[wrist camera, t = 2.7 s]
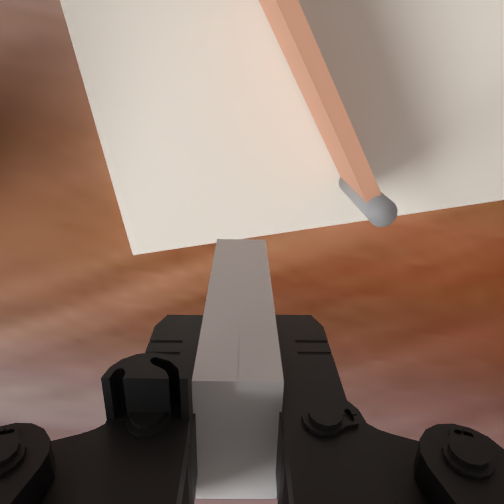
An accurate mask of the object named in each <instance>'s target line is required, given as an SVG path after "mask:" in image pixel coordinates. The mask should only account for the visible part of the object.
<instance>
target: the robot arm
mask: <svg viewBox="0 0 504 504" xmlns="http://www.w3.org/2000/svg"><path fill="white" fill-rule="evenodd" d="M101 381H102V388H103V395H104V402H105V409H106V417H107V421H106V423H105V424H104V425H102V426H100V427H98V428H96V429H94V430H91V431H88V432H85V433H82V434H78V435H74V436H70V437H66V438H62V439H58V440H54V441H50V438H49V436H48V435H47V433H46V431H45V430H44V429H43V428H41V427H39V426H37V425H34V424H32V423H13V424H9V425H5V426H0V504H194V500H195V492H196V499H276V493H277V499H278V504H504V449H503V448H501V447H500V446H499V445H498V444H496V443H495V442H494V441H493V440H491V439H490V438H489V437H487V436H485V435H483V434H481V433H479V432H477V431H475V430H473V429H471V428H468V427H464V426H460V425H456V424H437V425H435V426H432V427H430V428H428V429H426V430H425V432H424V433H423V435H422V436H421V438H420V440H419V441H416V440H412V439H408V438H404V437H401V436H397V435H393V434H390V433H387V432H384V431H381V430H378V429H376V428H374V427H373V426H371V425H369V424H367V423H366V421H365V420H364V418H363V416H362V415H361V413H360V411H359V410H358V409H357V408H356V407H355V406H353V405H352V404H351V403H350V402H348V401H347V399H346V396H345V393H344V390H343V387H342V384H341V381H340V378H339V375H338V371H337V368H336V365H335V362H334V359H333V356H332V355H331V350H330V346H329V343H328V340H327V337H326V334H325V331H324V328H323V326H322V325H321V324H320V323H319V322H318V321H317V320H315V319H314V318H313V317H312V316H311V315H275V309H274V302H273V294H272V287H271V279H270V271H269V264H268V256H267V248H266V241H265V240H246V239H217V242H216V248H215V253H214V259H213V264H212V270H211V276H210V281H209V287H208V292H207V298H206V304H205V309H204V315H167V316H166V317H165V318H164V319H163V320H161V321H160V322H159V323H158V324H157V325H156V326H155V327H154V330H153V333H152V336H151V338H150V343H149V344H148V346H147V349H146V353H143V354H136V355H133V356H130V357H127V358H125V359H122V360H120V361H119V362H117V363H116V364H114V365H113V366H111V367H110V368H109V369H108V370H107V371H106V373H105V374H104V375H103V376H102V378H101Z"/></svg>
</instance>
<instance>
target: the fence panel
mask: <svg viewBox="0 0 504 504" xmlns="http://www.w3.org/2000/svg"><path fill="white" fill-rule="evenodd" d="M259 2H260V4H261V7H262V9H263V11H264V13H265V15H266V17H267V19H268V22H269V24H270V26H271V28H272V30H273V32H274V35H275V37H276V39H277V41H278V43H279V45H280V48H281V50H282V52H283V54H284V56H285V58H286V60H287V63H288V65H289V67H290V69H291V71H292V73H293V76H294V78H295V80H296V82H297V84H298V86H299V89H300V91H301V93H302V95H303V97H304V99H305V101H306V104H307V106H308V108H309V110H310V112H311V114H312V117H313V119H314V121H315V123H316V125H317V127H318V130H319V132H320V134H321V136H322V138H323V140H324V142H325V145H326V147H327V149H328V151H329V153H330V155H331V158H332V160H333V162H334V164H335V166H336V168H337V171H338V173H339V175H340V179H339V186H340V188H341V190H342V191H343V192H344V193H345V194H346V195H347V196H348V197H349V198H350V200H351V201H352V202H353V203H354V204H355V205H356V206H357V207H358V208H359V210H360V211H361V212H362V213H363V214H364V215H365V216H366V217H367V218H368V220H369V221H370V222H371V223H372V224H373V225H375V226H378V227H385V226H388V225H390V224H391V223H392V222H393V221H394V220H395V218H396V216H397V212H398V211H397V206H396V204H395V203H394V202H393V201H391V200H390V199H389V198H388V197H387V196H385V195H384V194H383V193H382V192H381V191H380V189H379V187H378V184H377V182H376V180H375V177H374V175H373V173H372V171H371V168H370V166H369V164H368V161H367V159H366V157H365V154H364V152H363V150H362V147H361V145H360V143H359V140H358V138H357V136H356V133H355V131H354V129H353V126H352V124H351V122H350V119H349V117H348V115H347V112H346V110H345V108H344V105H343V103H342V101H341V98H340V96H339V94H338V92H337V89H336V87H335V85H334V82H333V80H332V78H331V75H330V73H329V71H328V68H327V66H326V64H325V61H324V59H323V57H322V54H321V52H320V50H319V47H318V45H317V43H316V40H315V38H314V36H313V33H312V31H311V29H310V26H309V24H308V22H307V19H306V17H305V15H304V13H303V10H302V8H301V6H300V3H299V1H298V0H259Z"/></svg>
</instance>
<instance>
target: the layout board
mask: <svg viewBox="0 0 504 504" xmlns="http://www.w3.org/2000/svg"><path fill="white" fill-rule="evenodd" d="M298 1H299V3H300V6H301V8H302V10H303V13H304V15H305V17H306V19H307V22H308V24H309V26H310V29H311V31H312V33H313V36H314V38H315V40H316V43H317V45H318V47H319V50H320V52H321V54H322V57H323V59H324V61H325V64H326V66H327V68H328V71H329V73H330V75H331V78H332V80H333V82H334V85H335V87H336V89H337V92H338V94H339V96H340V98H341V101H342V103H343V105H344V108H345V110H346V112H347V115H348V117H349V119H350V122H351V124H352V126H353V129H354V131H355V133H356V136H357V138H358V140H359V143H360V145H361V147H362V150H363V152H364V154H365V157H366V159H367V161H368V164H369V166H370V168H371V171H372V173H373V175H374V177H375V180H376V182H377V184H378V187H379V189H380V191H381V192H382V193H383V194H384V195H385V196H387V197H388V198H389V199H390V200H391V201H393V202H394V203H395V204H396V206H397V211H398V212H397V216H398V215H405V214H412V213H418V212H425V211H432V210H439V209H445V208H452V207H459V206H465V205H472V204H479V203H486V202H492V201H499V200H504V0H298ZM60 2H61V6H62V9H63V13H64V16H65V20H66V23H67V27H68V30H69V34H70V37H71V41H72V44H73V48H74V51H75V55H76V58H77V62H78V65H79V69H80V72H81V76H82V79H83V83H84V86H85V90H86V93H87V96H88V100H89V103H90V107H91V110H92V114H93V117H94V121H95V124H96V128H97V131H98V135H99V138H100V142H101V145H102V149H103V152H104V156H105V159H106V163H107V166H108V170H109V173H110V177H111V180H112V184H113V187H114V191H115V194H116V198H117V201H118V205H119V208H120V211H121V215H122V218H123V222H124V225H125V229H126V232H127V236H128V239H129V243H130V246H131V250H132V253H133V255H137V254H143V253H150V252H157V251H163V250H170V249H177V248H184V247H190V246H197V245H204V244H210V243H216V242H217V239H244V238H251V237H257V236H264V235H271V234H277V233H284V232H291V231H298V230H304V229H311V228H318V227H324V226H331V225H338V224H345V223H351V222H358V221H365V220H368V218H367V217H366V216H365V215H364V214H363V213H362V212H361V211H360V210H359V208H358V207H357V206H356V205H355V204H354V203H353V202H352V201H351V200H350V198H349V197H348V196H347V195H346V194H345V193H344V192H343V191H342V190H341V188H340V186H339V179H340V175H339V173H338V171H337V168H336V166H335V164H334V162H333V160H332V158H331V155H330V153H329V151H328V149H327V147H326V145H325V142H324V140H323V138H322V136H321V134H320V132H319V130H318V127H317V125H316V123H315V121H314V119H313V117H312V114H311V112H310V110H309V108H308V106H307V104H306V101H305V99H304V97H303V95H302V93H301V91H300V89H299V86H298V84H297V82H296V80H295V78H294V76H293V73H292V71H291V69H290V67H289V65H288V63H287V60H286V58H285V56H284V54H283V52H282V50H281V48H280V45H279V43H278V41H277V39H276V37H275V35H274V32H273V30H272V28H271V26H270V24H269V22H268V19H267V17H266V15H265V13H264V11H263V9H262V7H261V4H260V2H259V0H60Z"/></svg>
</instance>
